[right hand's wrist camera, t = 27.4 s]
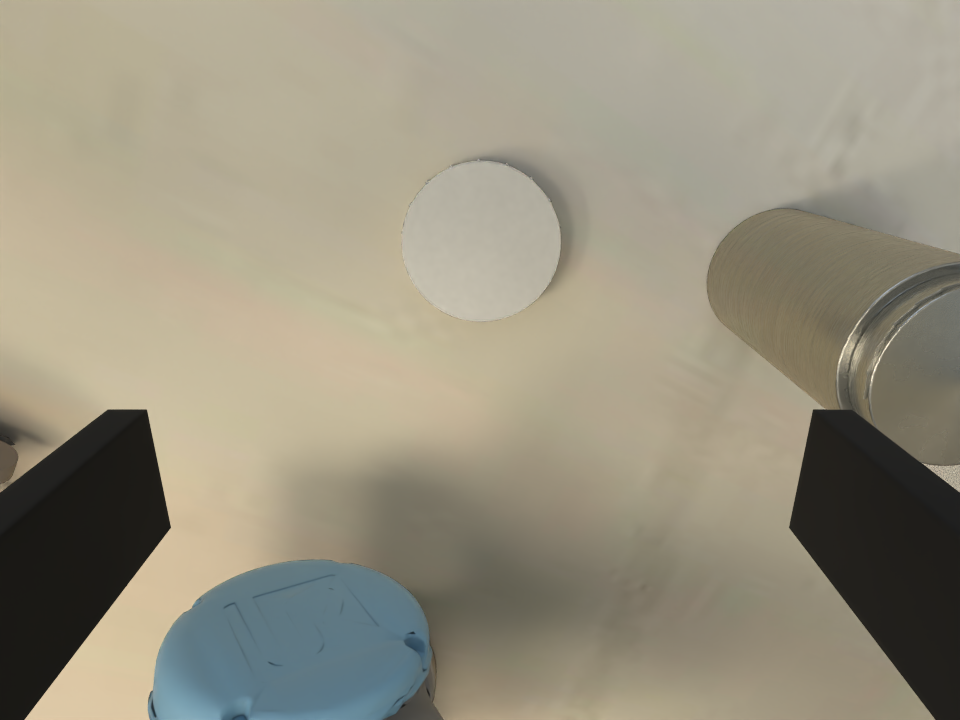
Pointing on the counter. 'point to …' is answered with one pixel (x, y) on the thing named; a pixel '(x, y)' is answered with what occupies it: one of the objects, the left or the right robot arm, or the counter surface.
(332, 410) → the counter surface
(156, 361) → the counter surface
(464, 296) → the lid
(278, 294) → the counter surface
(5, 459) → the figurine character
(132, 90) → the counter surface
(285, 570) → the left robot arm
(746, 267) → the jar
